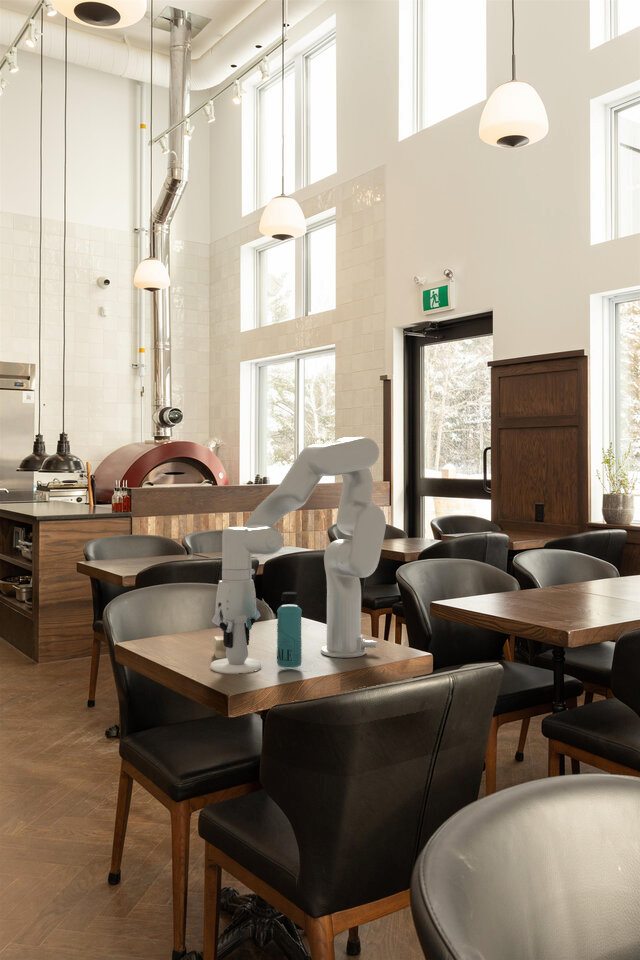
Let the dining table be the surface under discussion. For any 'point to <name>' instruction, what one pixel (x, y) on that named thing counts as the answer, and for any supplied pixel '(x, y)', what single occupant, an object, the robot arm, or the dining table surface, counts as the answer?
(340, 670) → the dining table surface
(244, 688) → the dining table surface
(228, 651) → the salt shaker
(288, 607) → the beverage bottle
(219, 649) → the oak block
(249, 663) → the side plate
